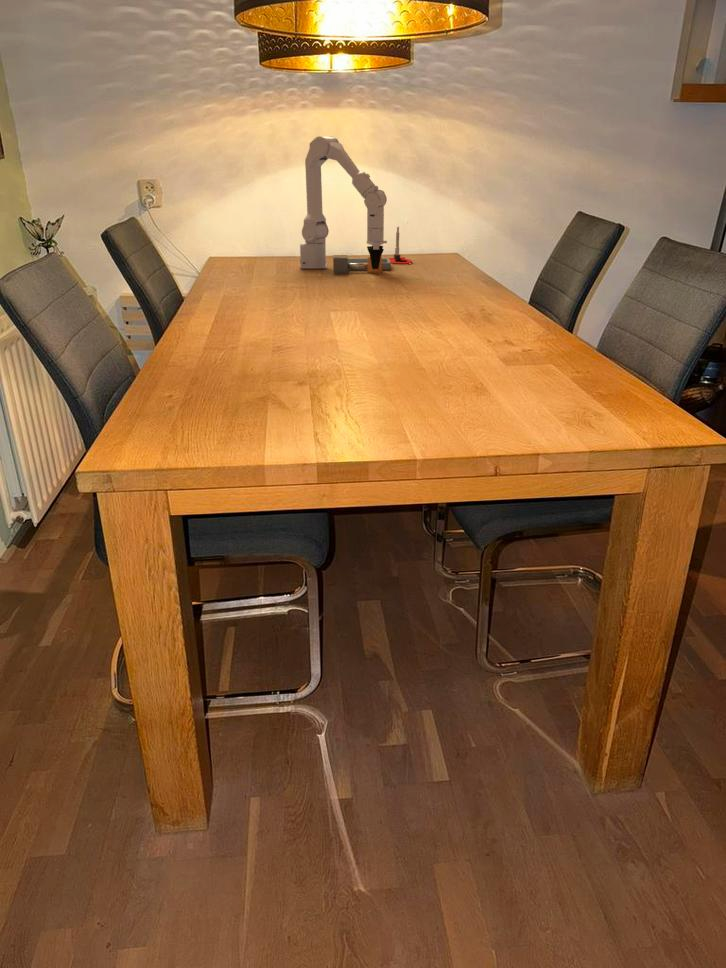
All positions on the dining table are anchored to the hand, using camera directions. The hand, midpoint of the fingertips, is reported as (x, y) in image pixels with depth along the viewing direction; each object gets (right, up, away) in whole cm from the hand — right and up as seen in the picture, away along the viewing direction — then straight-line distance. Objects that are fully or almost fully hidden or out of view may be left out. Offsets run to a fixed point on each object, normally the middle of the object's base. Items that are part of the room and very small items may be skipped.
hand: (375, 268), depth 263 cm
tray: (-5, +3, +9) cm, 11 cm away
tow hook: (+10, +8, +20) cm, 24 cm away
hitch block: (-12, -1, 0) cm, 12 cm away
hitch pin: (-5, -1, 0) cm, 5 cm away
